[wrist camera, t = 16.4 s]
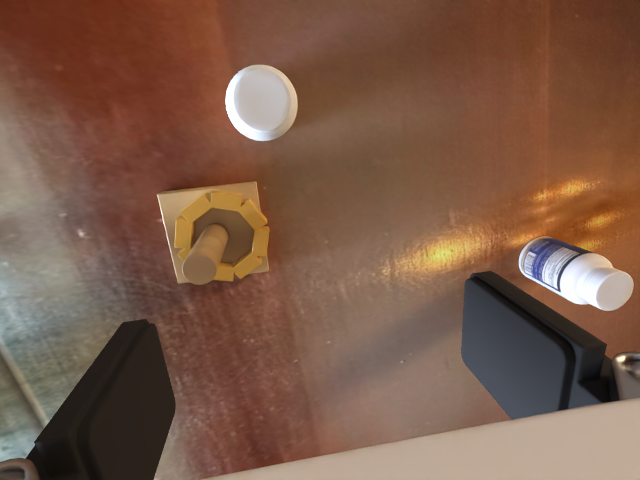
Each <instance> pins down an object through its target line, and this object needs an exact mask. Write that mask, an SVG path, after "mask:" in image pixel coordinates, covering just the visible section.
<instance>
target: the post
mask: <svg viewBox="0 0 640 480" xmlns="http://www.w3.org/2000/svg"><path fill="white" fill-rule="evenodd" d="M213 190H216V191H224V192H231V193H238V194H243V197H242V203H244V202H245V201H246V200H248V199H249V198H250V199H251V200H252V201H253V203H254V204H255V205H256V206H257V208H258V209H259V210H260V211H261V209H260V202H259V195H258V188H257V182H256V181H255V182H246V183H237V184H227V185H218V186H209V187H200V188H191V189H182V190H173V191H164V192H161V193H159V194H157V196H158V200H159V204H160V209H161V213H162V217H163V221H164V226H165V230H166V234H167V239H168V243H169V247H170V251H171V256H172V260H173V264H174V268H175V273H176V277H177V281H178V284H180V283H187V282H191V283H194V284H198V285H201V284H206V283H208V282H210V281H211V280H212V279H213V278H214V277H215V275H216V272H217V269H218V267H219V264H220V262H227V263H235V262H236V261H237V260H239V259H240V258H241V257H243V256H244V255H245V254H247V253H248V252H249V251H251V250H252V247H253V238H254V229H253V228H252V227H251V226H250V225H249V223H248V222H247V221H246V220H245V219H244V217H243V216H242V215H241V214H240V213H239V211H234V210H226V209H218V208H211V209H210V210H209V211H207V212H206V213H205V214H203V215H202V216H201V217H199V218H198V219H197V220H195V223H194V238H193V243H194V246H193V248H192V250H191V251H190V253H189V254H188V256H187V257H186V259H185V261H183V260H182V259H181V258H180V257H179V256H178V253H179V252H180V250H181V249H183V248H175V247H174V246H175V227H176V219H177V218H178V217H179V216H182V214H181V213H180V212H181V211H182V210H183V209H184V208H185V207H186V206H188V205H189V204H190V203H192V202H193V201H194V200H196V199H197V198H198V197H200V196H201V195H202V194H204V193H205V192H206V193H207V194H208V195H209V197H210V198H211V193H212V191H213ZM261 257H262V256H261ZM266 271H269V264H268V257H267V254H266V257H262V264H261V265H259V266H258V267H257V268H255V269H254V270H253V271H251V272H250V273H248V274H252V273H259V272H266ZM234 276H237V275H236V274H234Z"/></svg>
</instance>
